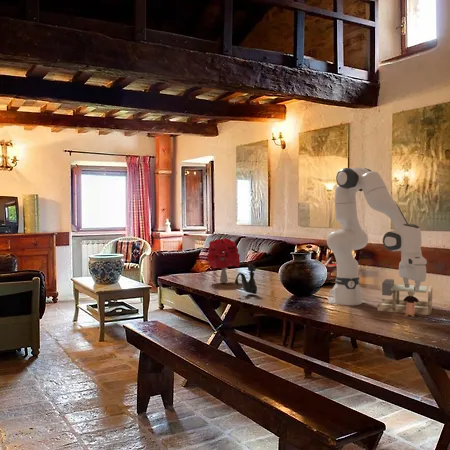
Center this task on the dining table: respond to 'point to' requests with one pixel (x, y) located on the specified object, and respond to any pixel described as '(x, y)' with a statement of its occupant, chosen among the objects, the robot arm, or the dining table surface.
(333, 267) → the stew
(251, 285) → the cat figurine
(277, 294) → the dining table surface
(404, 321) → the dining table surface
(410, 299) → the grandmother figurine
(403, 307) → the frame
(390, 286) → the hammer
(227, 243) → the bouquet
